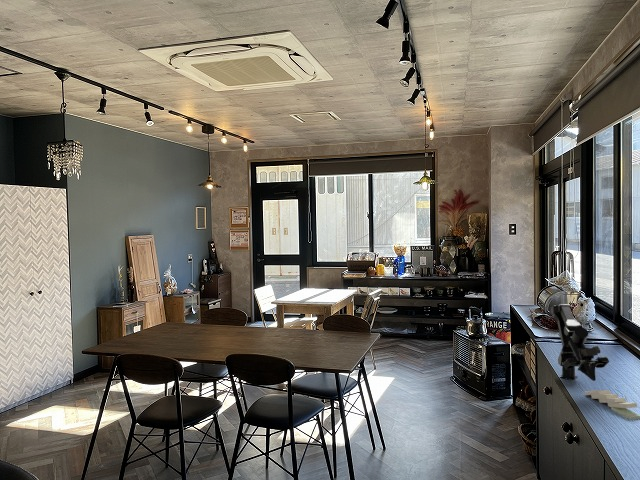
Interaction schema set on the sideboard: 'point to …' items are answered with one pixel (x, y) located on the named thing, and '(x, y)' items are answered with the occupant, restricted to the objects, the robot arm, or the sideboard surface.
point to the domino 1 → (597, 392)
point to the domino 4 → (623, 405)
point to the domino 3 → (612, 400)
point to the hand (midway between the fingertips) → (594, 380)
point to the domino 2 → (604, 396)
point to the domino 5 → (626, 413)
